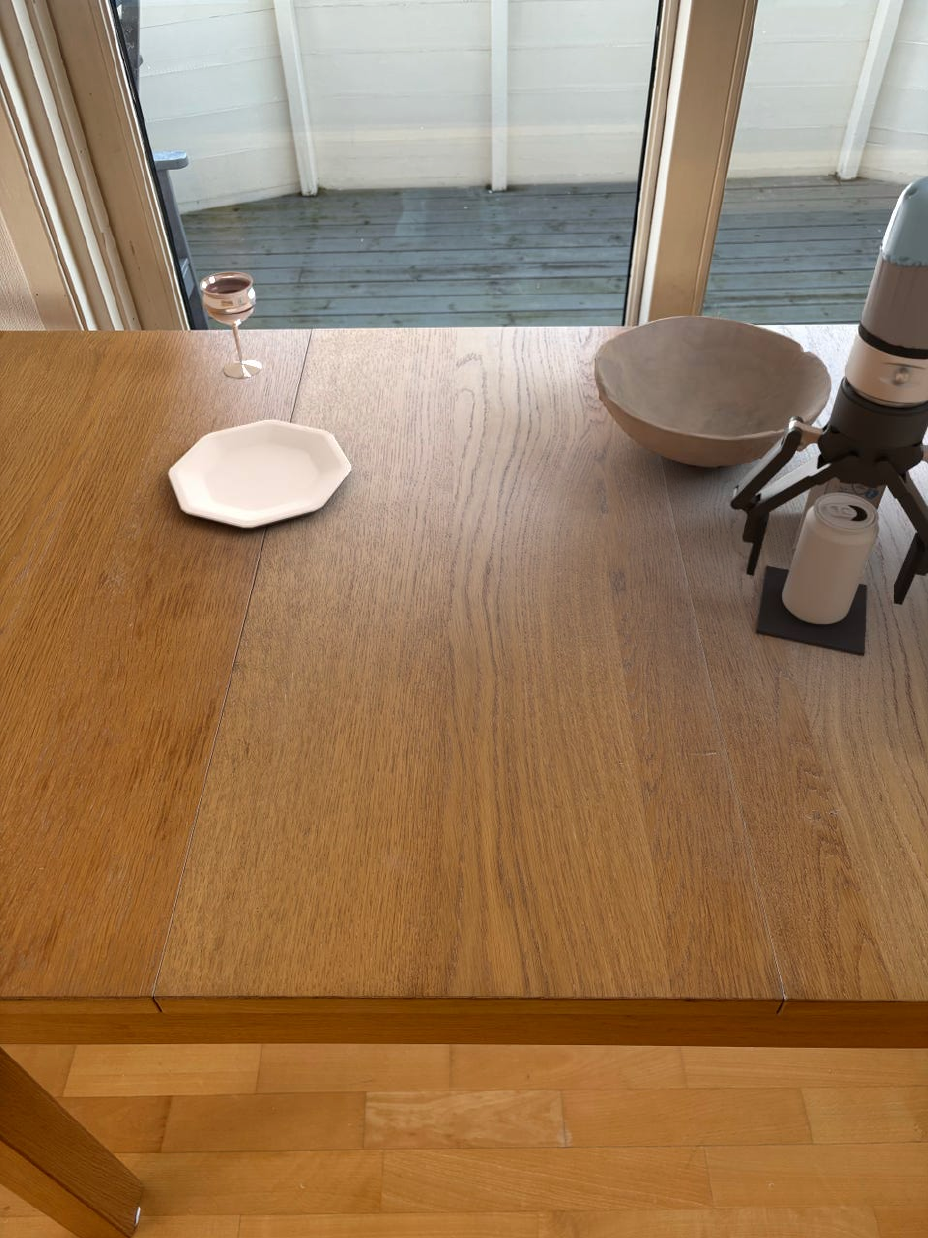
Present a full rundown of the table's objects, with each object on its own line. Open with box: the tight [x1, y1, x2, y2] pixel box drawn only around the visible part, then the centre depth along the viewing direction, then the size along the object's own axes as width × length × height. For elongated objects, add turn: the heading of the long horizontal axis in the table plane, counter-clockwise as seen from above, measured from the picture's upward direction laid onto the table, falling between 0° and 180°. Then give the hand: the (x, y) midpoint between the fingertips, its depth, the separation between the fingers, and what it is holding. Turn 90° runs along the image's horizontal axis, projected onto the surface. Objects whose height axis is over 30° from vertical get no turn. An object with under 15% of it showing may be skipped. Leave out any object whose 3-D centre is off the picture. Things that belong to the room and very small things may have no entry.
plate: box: [167, 419, 352, 530], centre depth 109 cm, size 20×20×2 cm
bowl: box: [593, 315, 832, 468], centre depth 111 cm, size 26×26×10 cm
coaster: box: [755, 564, 868, 656], centre depth 94 cm, size 10×10×1 cm
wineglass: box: [199, 271, 262, 379], centre depth 124 cm, size 7×7×12 cm
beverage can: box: [782, 493, 880, 624], centre depth 89 cm, size 6×6×12 cm
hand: (823, 580), depth 91 cm, fingers open, 13 cm apart
